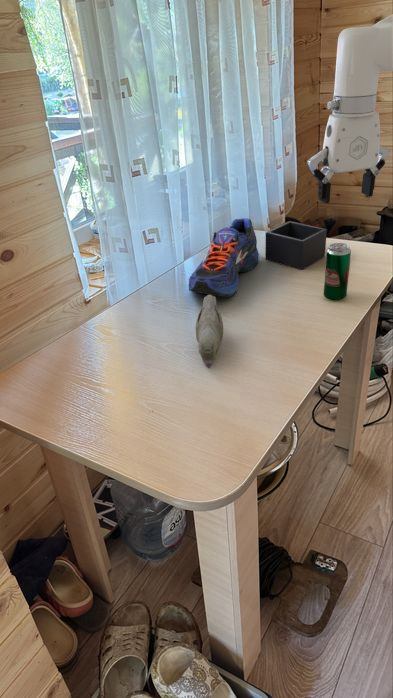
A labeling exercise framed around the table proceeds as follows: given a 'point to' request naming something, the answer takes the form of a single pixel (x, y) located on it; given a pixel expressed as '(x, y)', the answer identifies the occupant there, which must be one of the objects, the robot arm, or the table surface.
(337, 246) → the soda can
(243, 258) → the running shoe
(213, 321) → the decorative bird
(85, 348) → the table surface
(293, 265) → the dark grey open box
